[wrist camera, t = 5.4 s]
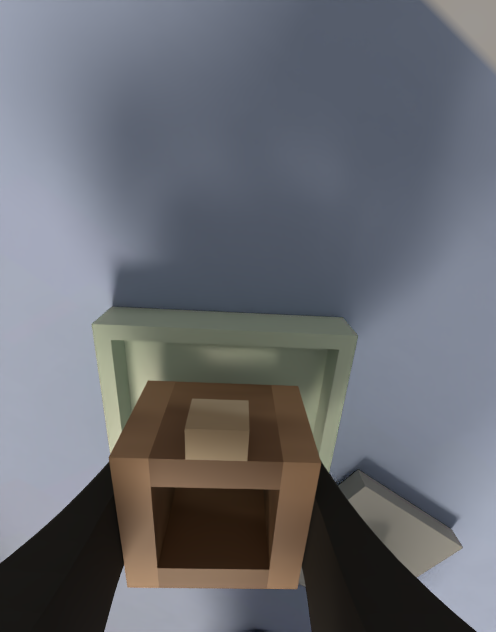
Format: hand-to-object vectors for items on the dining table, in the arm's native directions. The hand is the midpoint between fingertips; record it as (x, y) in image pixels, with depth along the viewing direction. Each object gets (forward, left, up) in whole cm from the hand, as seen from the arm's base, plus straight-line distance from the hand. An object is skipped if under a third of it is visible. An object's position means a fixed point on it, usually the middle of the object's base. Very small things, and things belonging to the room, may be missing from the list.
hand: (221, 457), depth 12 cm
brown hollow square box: (0, 0, -1) cm, 1 cm away
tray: (0, 0, -3) cm, 3 cm away
